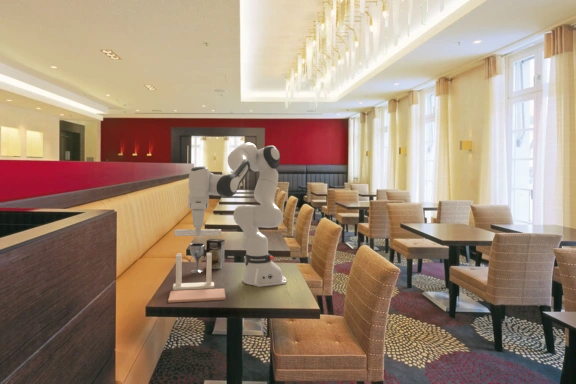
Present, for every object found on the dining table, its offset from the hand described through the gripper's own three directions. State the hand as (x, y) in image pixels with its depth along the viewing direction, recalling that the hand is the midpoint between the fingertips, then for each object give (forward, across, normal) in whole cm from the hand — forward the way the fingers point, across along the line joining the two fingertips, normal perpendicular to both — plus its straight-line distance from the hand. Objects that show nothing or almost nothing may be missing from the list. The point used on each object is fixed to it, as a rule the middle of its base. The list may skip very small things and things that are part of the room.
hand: (198, 234), depth 161 cm
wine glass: (+28, -40, -1) cm, 49 cm away
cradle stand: (+28, -13, -2) cm, 31 cm away
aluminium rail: (0, 0, 0) cm, 0 cm away
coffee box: (+28, -47, +9) cm, 55 cm away
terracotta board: (+28, 0, 0) cm, 28 cm away
